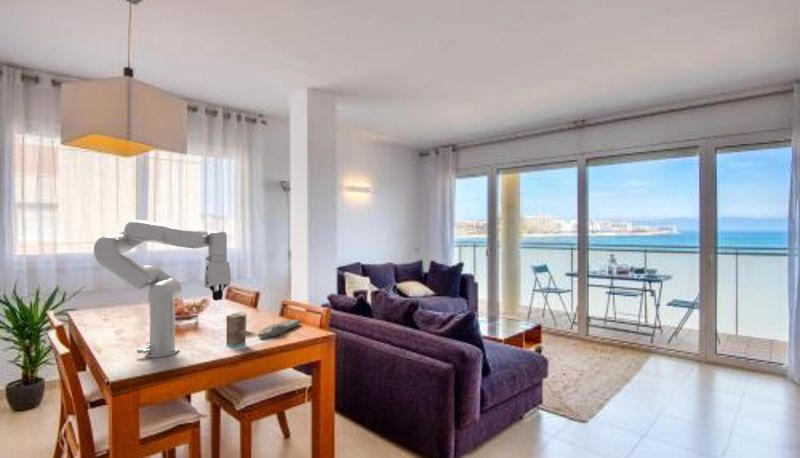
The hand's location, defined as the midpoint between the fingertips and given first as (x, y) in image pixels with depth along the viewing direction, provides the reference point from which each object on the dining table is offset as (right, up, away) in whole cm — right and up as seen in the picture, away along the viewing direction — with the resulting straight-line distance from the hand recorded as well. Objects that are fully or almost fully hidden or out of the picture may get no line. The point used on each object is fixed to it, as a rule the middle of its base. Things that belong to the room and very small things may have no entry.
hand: (217, 299), depth 184 cm
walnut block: (+5, -23, +7) cm, 24 cm away
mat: (+10, -23, +13) cm, 28 cm away
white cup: (-3, -23, +31) cm, 39 cm away
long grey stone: (+19, -23, +33) cm, 45 cm away
